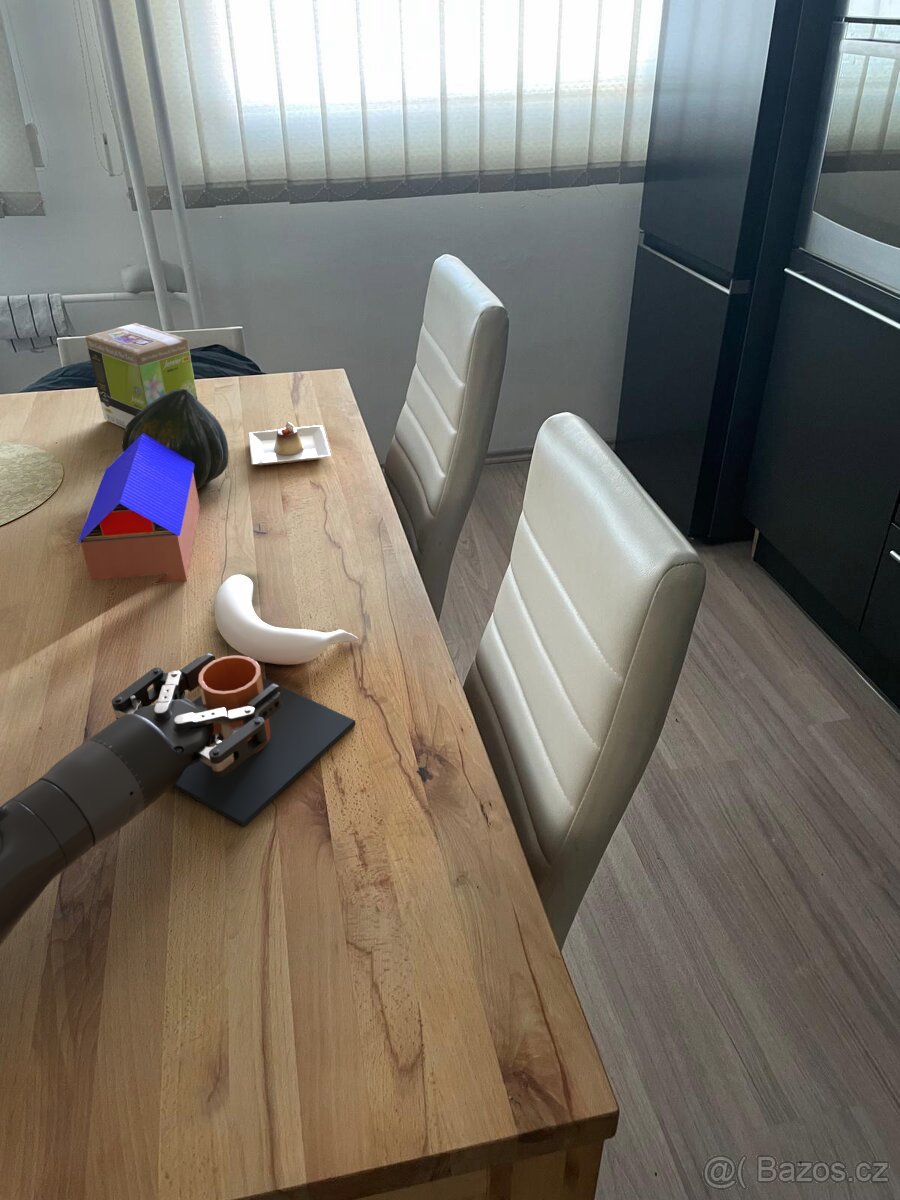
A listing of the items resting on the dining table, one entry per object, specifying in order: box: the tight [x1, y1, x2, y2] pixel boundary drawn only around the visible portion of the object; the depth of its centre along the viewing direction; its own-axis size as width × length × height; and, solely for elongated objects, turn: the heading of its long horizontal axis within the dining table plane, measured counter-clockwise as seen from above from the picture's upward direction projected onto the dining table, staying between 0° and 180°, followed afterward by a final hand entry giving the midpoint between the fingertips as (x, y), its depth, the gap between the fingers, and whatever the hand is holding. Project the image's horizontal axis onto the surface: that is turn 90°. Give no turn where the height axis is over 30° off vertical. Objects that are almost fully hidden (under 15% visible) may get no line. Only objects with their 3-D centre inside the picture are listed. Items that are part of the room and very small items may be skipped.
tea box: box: [85, 322, 199, 429], centre depth 151 cm, size 15×10×15 cm
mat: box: [172, 677, 356, 828], centre depth 90 cm, size 16×16×1 cm
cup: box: [198, 654, 271, 753], centre depth 88 cm, size 6×6×8 cm
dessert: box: [247, 421, 331, 466], centre depth 144 cm, size 12×12×5 cm
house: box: [76, 433, 201, 585], centre depth 119 cm, size 12×20×12 cm, turn 8°
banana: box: [214, 574, 360, 666], centre depth 106 cm, size 5×19×15 cm
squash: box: [121, 388, 230, 490], centre depth 133 cm, size 14×15×15 cm
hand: (245, 676), depth 88 cm, fingers open, 8 cm apart
